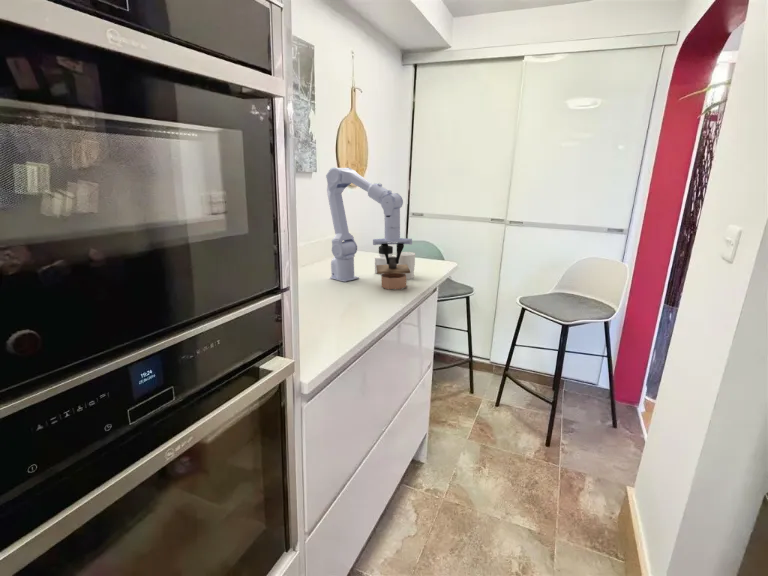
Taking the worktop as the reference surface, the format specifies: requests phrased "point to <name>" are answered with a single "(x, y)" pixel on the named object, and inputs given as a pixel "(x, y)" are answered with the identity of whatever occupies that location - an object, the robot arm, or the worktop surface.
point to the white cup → (408, 262)
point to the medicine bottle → (383, 256)
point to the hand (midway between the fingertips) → (392, 263)
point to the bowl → (393, 280)
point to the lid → (392, 267)
